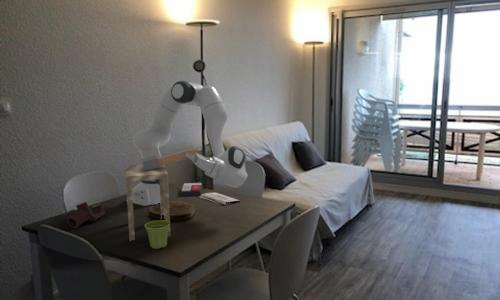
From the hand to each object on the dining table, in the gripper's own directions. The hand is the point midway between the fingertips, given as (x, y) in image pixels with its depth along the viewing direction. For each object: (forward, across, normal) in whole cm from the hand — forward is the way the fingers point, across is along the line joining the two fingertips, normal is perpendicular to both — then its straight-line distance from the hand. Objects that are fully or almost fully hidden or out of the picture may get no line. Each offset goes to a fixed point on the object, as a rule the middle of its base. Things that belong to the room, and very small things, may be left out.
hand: (184, 152), depth 174 cm
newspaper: (-36, -34, +18) cm, 53 cm away
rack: (-2, 0, +36) cm, 36 cm away
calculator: (-25, -54, +23) cm, 64 cm away
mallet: (+4, 0, +7) cm, 8 cm away
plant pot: (-4, +20, +35) cm, 40 cm away
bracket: (+21, -18, +49) cm, 56 cm away
